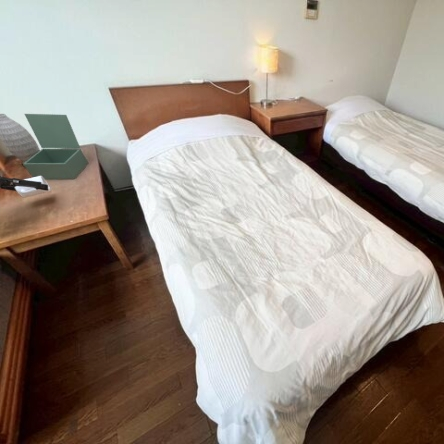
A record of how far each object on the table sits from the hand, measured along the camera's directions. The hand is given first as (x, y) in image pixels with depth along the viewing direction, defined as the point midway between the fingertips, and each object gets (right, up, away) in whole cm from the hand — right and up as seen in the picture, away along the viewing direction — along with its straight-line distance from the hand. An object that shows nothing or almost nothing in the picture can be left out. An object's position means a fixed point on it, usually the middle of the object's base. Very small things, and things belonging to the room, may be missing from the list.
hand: (31, 187), depth 117 cm
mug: (+1, -4, +2) cm, 4 cm away
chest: (-11, +14, +27) cm, 32 cm away
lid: (-11, +35, +21) cm, 42 cm away
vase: (-32, +20, +31) cm, 49 cm away
